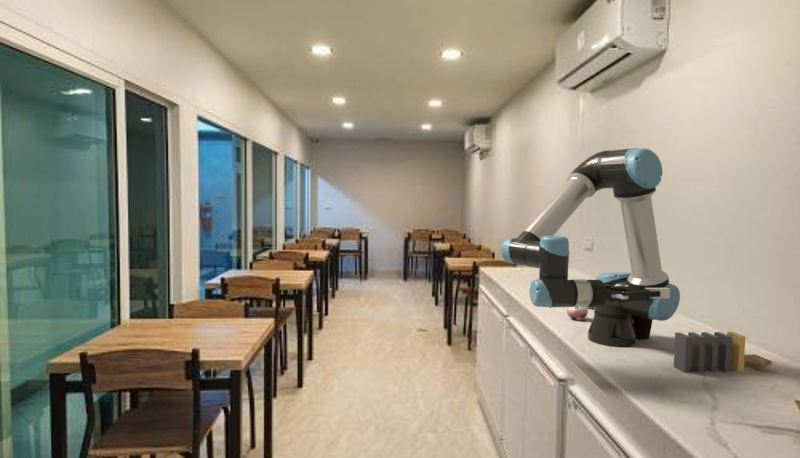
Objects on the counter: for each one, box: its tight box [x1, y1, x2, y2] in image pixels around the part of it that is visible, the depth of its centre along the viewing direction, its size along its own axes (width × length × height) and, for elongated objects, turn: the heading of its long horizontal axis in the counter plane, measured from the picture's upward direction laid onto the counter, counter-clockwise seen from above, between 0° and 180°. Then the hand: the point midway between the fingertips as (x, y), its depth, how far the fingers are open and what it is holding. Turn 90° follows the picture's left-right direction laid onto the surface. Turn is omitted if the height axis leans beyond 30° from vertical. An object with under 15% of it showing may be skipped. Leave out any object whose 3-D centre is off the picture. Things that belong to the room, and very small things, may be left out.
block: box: [744, 354, 773, 373], centre depth 150 cm, size 3×6×3 cm, turn 6°
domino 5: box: [726, 331, 746, 373], centre depth 149 cm, size 2×5×10 cm, turn 6°
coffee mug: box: [631, 314, 653, 341], centre depth 183 cm, size 12×9×10 cm
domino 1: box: [673, 332, 692, 374], centre depth 148 cm, size 2×5×10 cm, turn 6°
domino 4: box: [713, 331, 732, 373], centre depth 149 cm, size 2×5×10 cm, turn 6°
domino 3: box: [700, 331, 719, 373], centre depth 148 cm, size 2×5×10 cm, turn 6°
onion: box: [566, 307, 589, 321], centre depth 207 cm, size 8×8×7 cm
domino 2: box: [687, 331, 705, 373], centre depth 148 cm, size 2×5×10 cm, turn 6°
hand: (667, 293), depth 146 cm, fingers closed
